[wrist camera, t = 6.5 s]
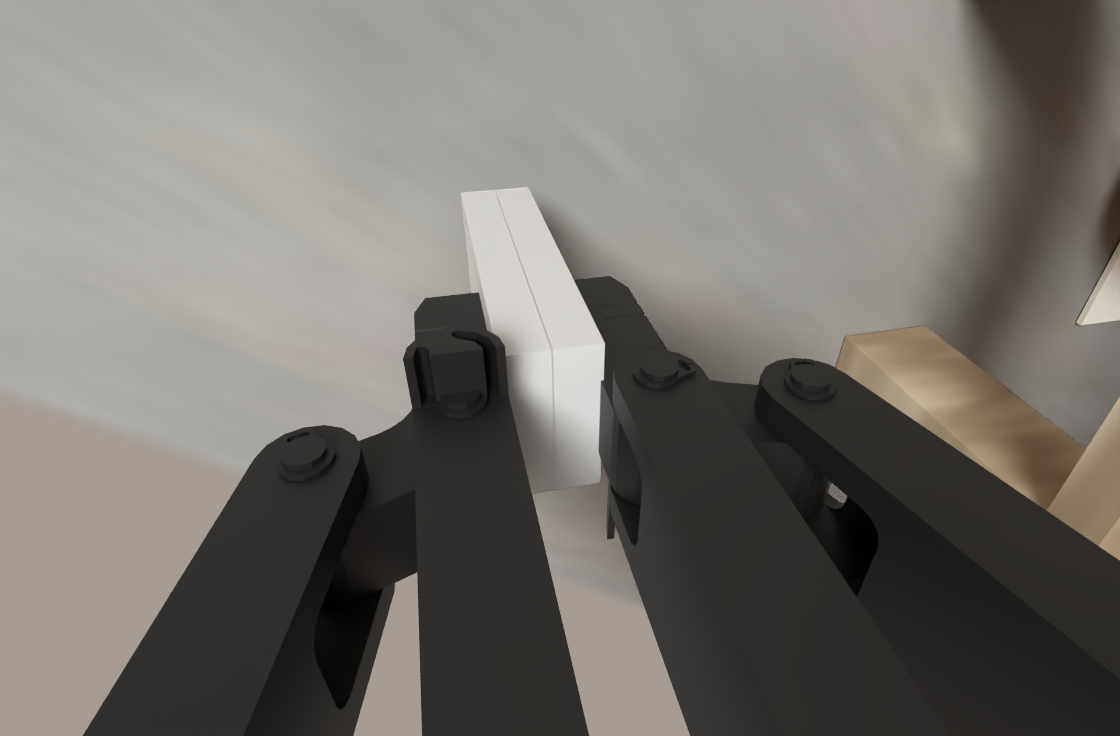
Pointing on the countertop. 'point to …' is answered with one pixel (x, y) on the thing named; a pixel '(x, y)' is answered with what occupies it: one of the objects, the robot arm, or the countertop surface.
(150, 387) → the countertop surface
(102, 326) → the countertop surface
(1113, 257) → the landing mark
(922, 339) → the bridge
